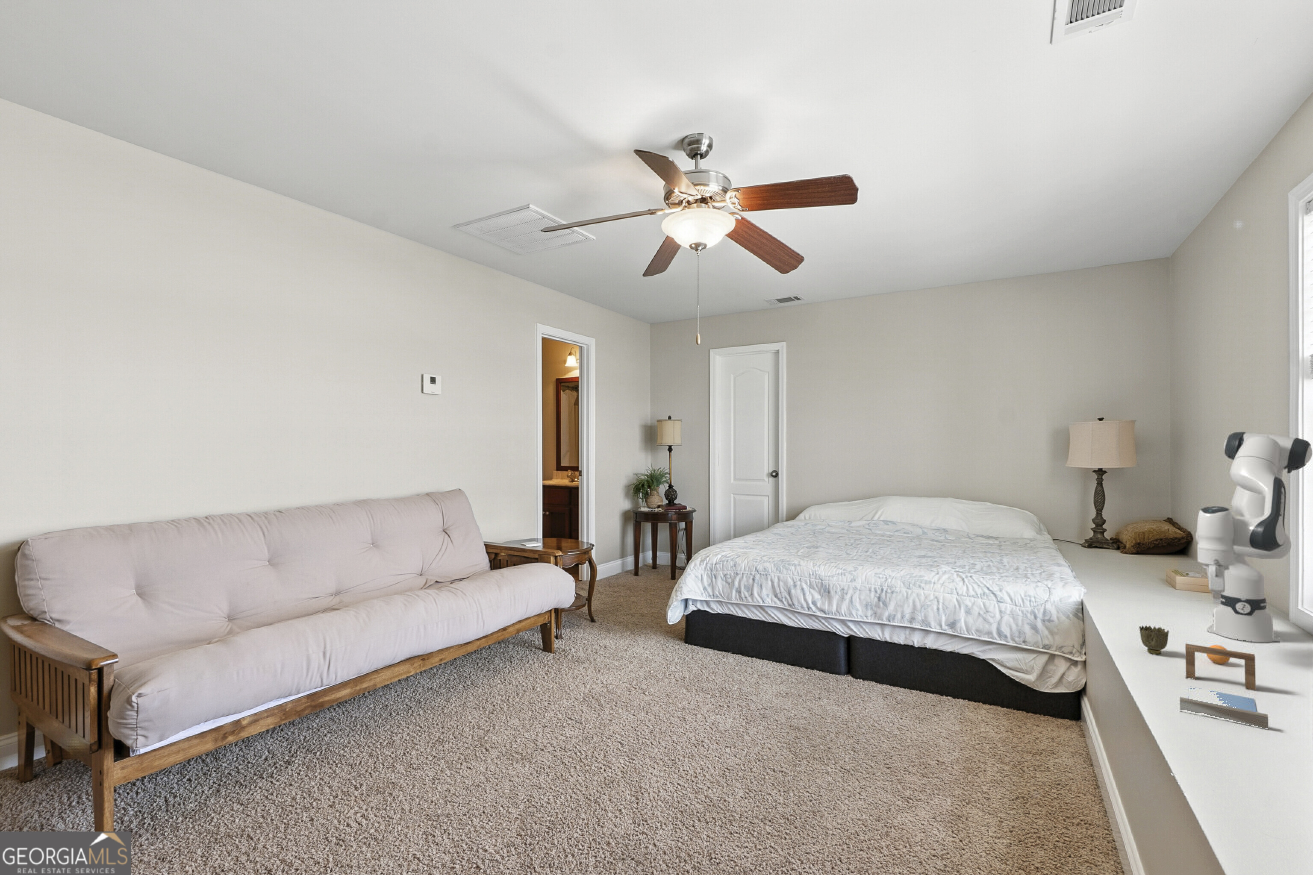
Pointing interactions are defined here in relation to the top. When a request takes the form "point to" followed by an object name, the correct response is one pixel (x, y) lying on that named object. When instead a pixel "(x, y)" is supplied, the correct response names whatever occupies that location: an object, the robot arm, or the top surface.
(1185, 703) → the wall
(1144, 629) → the cup
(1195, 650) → the bridge
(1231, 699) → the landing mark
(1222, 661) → the ball
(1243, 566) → the robot arm
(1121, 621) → the top surface
